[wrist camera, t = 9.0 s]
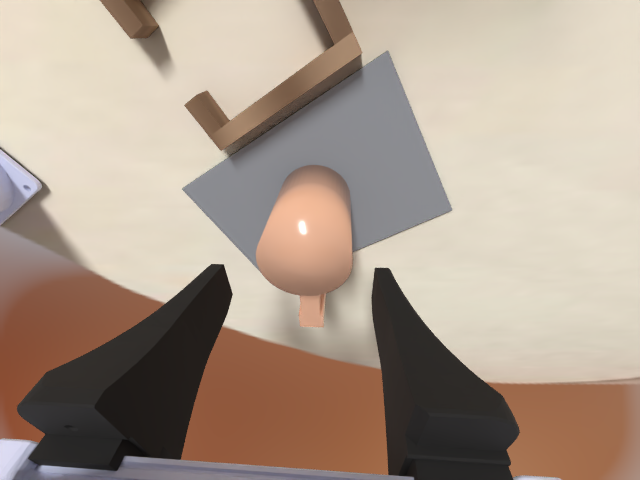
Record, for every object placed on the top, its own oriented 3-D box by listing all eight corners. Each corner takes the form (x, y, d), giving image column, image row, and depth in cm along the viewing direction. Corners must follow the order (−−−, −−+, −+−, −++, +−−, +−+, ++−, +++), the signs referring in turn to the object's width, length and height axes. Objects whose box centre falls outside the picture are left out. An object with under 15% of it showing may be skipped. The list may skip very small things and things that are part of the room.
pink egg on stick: (347, 268, 24) (348, 341, 18) (289, 267, 24) (272, 337, 19) (351, 164, 19) (354, 222, 13) (276, 164, 19) (247, 220, 13)
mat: (273, 283, 26) (273, 285, 26) (183, 187, 21) (181, 189, 21) (451, 208, 20) (452, 209, 20) (387, 50, 15) (387, 50, 15)
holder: (228, 143, 19) (220, 150, 17) (98, -26, 14) (75, -31, 13) (361, 51, 15) (362, 52, 14) (244, -210, 11) (231, -241, 10)
